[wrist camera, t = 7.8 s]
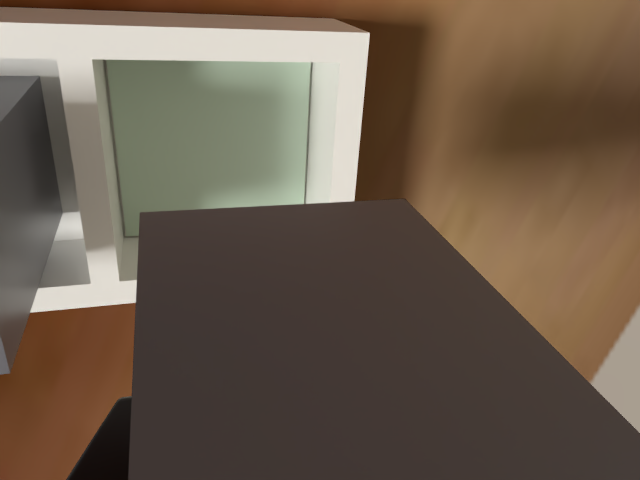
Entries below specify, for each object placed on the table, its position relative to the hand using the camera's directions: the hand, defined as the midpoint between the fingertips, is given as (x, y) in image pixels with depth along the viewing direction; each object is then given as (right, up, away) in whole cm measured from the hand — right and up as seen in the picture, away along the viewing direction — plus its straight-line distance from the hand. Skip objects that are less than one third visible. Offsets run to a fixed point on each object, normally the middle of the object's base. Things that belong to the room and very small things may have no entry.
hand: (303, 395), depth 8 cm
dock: (-7, +5, +10) cm, 13 cm away
